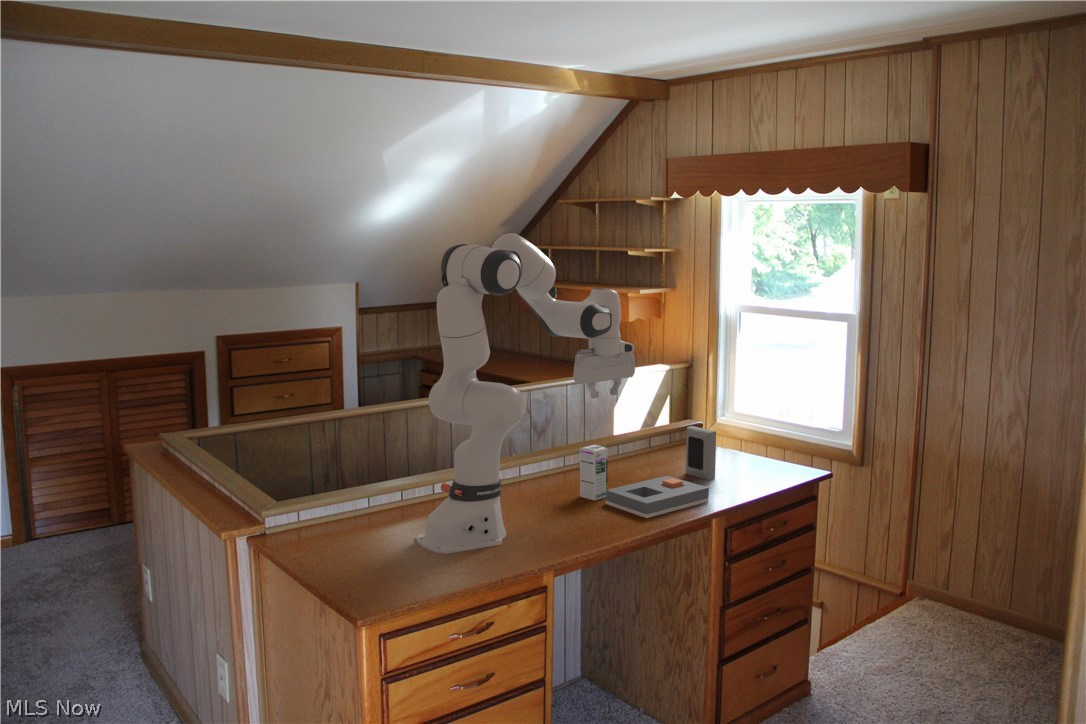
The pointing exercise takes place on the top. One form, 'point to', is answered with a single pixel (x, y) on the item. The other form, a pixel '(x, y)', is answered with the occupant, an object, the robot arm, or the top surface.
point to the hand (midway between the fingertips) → (604, 396)
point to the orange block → (672, 483)
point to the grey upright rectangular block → (700, 452)
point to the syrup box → (593, 472)
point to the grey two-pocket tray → (656, 497)
